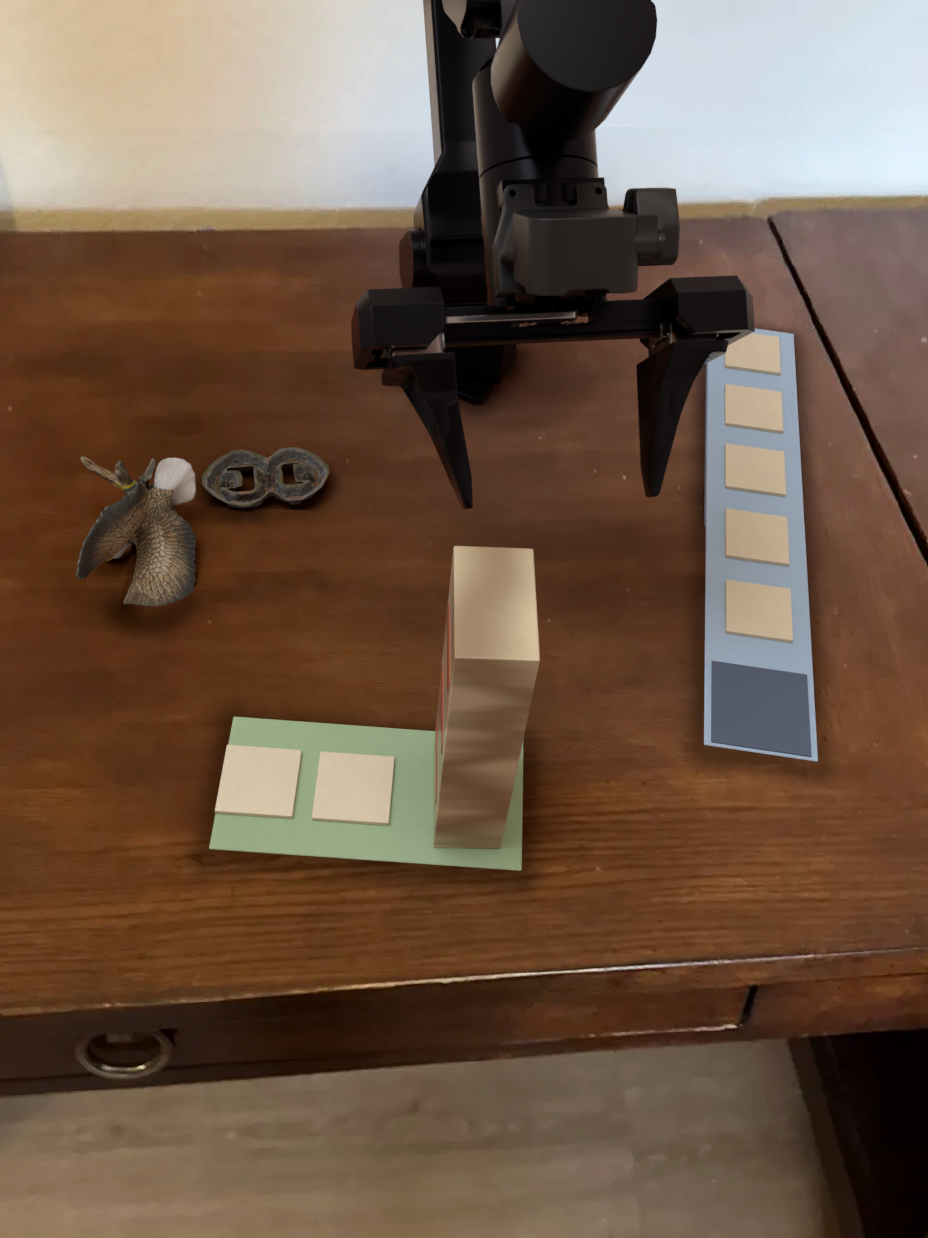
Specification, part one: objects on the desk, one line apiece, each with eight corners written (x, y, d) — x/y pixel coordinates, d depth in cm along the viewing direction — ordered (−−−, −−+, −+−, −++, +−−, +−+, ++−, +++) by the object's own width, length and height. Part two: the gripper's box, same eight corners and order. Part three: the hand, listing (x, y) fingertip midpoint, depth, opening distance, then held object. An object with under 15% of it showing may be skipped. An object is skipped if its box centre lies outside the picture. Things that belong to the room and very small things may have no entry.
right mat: (815, 766, 68) (820, 758, 67) (701, 750, 68) (705, 741, 67) (791, 339, 90) (794, 330, 90) (706, 327, 90) (708, 317, 90)
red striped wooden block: (431, 848, 62) (453, 657, 49) (432, 747, 66) (452, 544, 53) (501, 849, 63) (541, 660, 49) (498, 749, 66) (534, 547, 53)
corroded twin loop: (333, 509, 77) (333, 498, 76) (205, 519, 75) (203, 508, 74) (325, 452, 80) (325, 441, 79) (201, 462, 78) (199, 450, 77)
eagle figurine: (53, 505, 74) (48, 602, 67) (102, 415, 70) (102, 508, 64) (169, 547, 78) (175, 642, 71) (221, 464, 74) (232, 556, 68)
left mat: (209, 854, 62) (208, 846, 61) (234, 721, 67) (232, 713, 66) (520, 875, 63) (522, 868, 62) (522, 742, 67) (524, 734, 67)
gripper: (354, 116, 49) (383, 504, 49) (793, 108, 51) (815, 477, 52) (340, 202, 60) (364, 518, 60) (702, 192, 62) (722, 495, 63)
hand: (561, 502), depth 59 cm, fingers open, 9 cm apart
